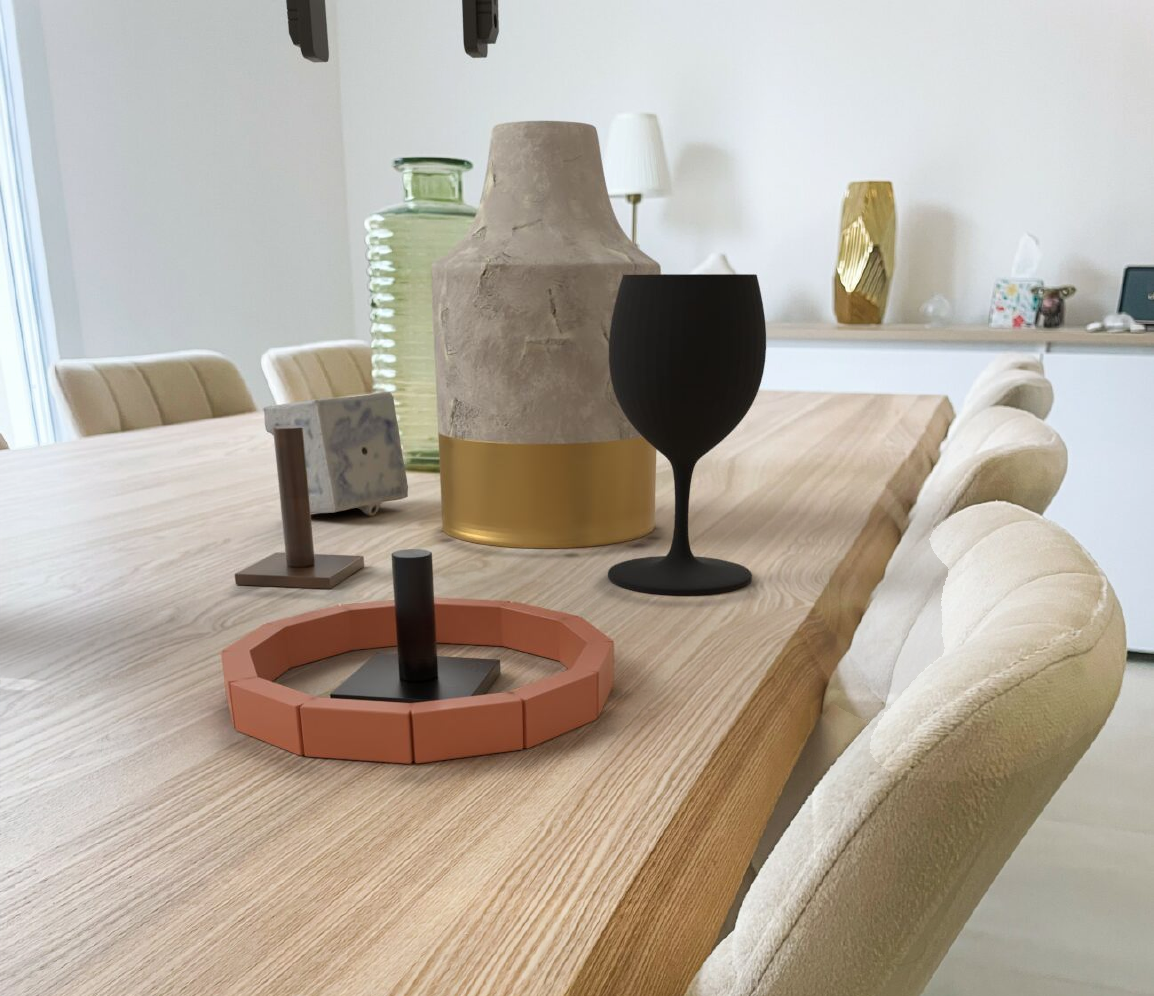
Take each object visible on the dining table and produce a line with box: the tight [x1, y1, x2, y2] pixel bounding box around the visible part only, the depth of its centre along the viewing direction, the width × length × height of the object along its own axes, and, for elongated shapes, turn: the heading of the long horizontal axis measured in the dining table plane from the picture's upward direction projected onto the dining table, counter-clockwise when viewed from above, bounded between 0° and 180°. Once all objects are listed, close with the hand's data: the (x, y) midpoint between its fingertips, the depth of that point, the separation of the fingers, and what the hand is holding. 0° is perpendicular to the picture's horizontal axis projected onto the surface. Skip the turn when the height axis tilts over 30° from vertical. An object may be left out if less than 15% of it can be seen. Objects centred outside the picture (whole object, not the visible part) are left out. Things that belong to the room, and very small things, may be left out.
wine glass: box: [607, 273, 767, 596], centre depth 79 cm, size 10×10×20 cm
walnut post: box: [234, 425, 365, 590], centre depth 81 cm, size 7×7×10 cm
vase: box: [430, 120, 662, 549], centre depth 94 cm, size 18×18×30 cm
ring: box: [220, 596, 615, 765], centre depth 59 cm, size 19×19×2 cm
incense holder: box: [262, 391, 409, 517], centre depth 104 cm, size 10×8×10 cm
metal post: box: [329, 548, 501, 703], centre depth 59 cm, size 7×7×7 cm
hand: (395, 58), depth 59 cm, fingers open, 8 cm apart
